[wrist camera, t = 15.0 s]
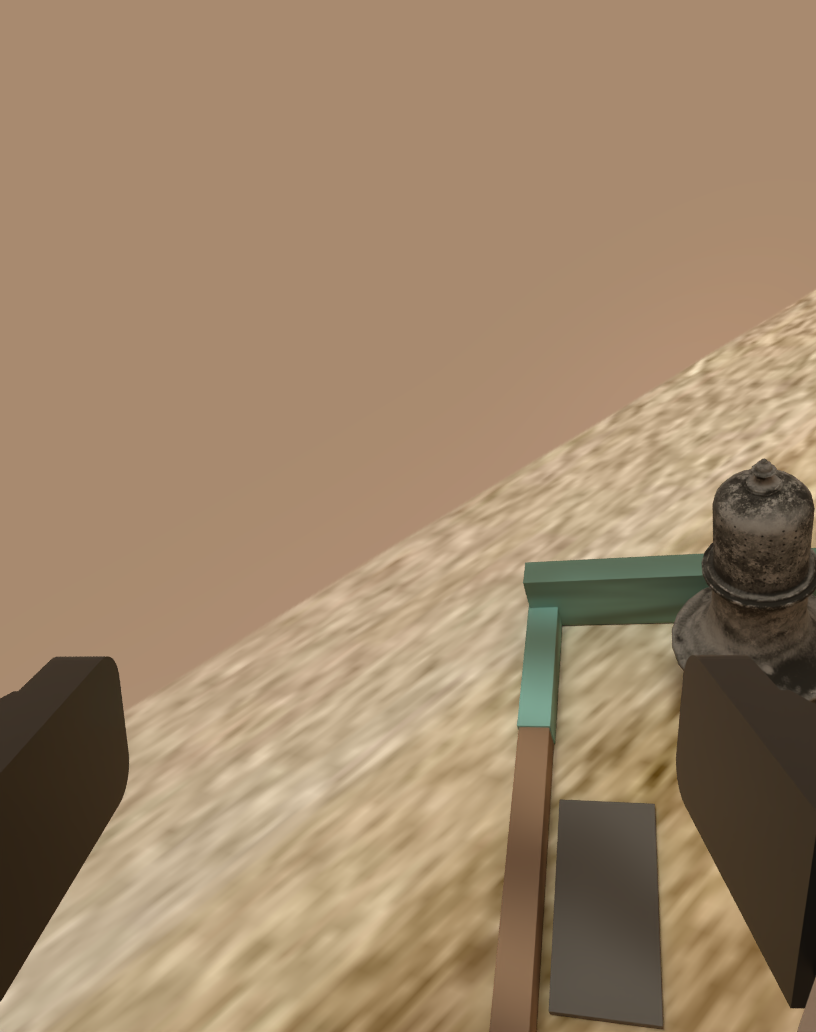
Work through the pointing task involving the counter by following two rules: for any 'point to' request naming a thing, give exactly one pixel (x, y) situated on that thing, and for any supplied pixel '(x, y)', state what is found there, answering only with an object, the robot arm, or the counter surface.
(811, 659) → the salt shaker
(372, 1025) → the counter surface
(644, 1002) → the track
